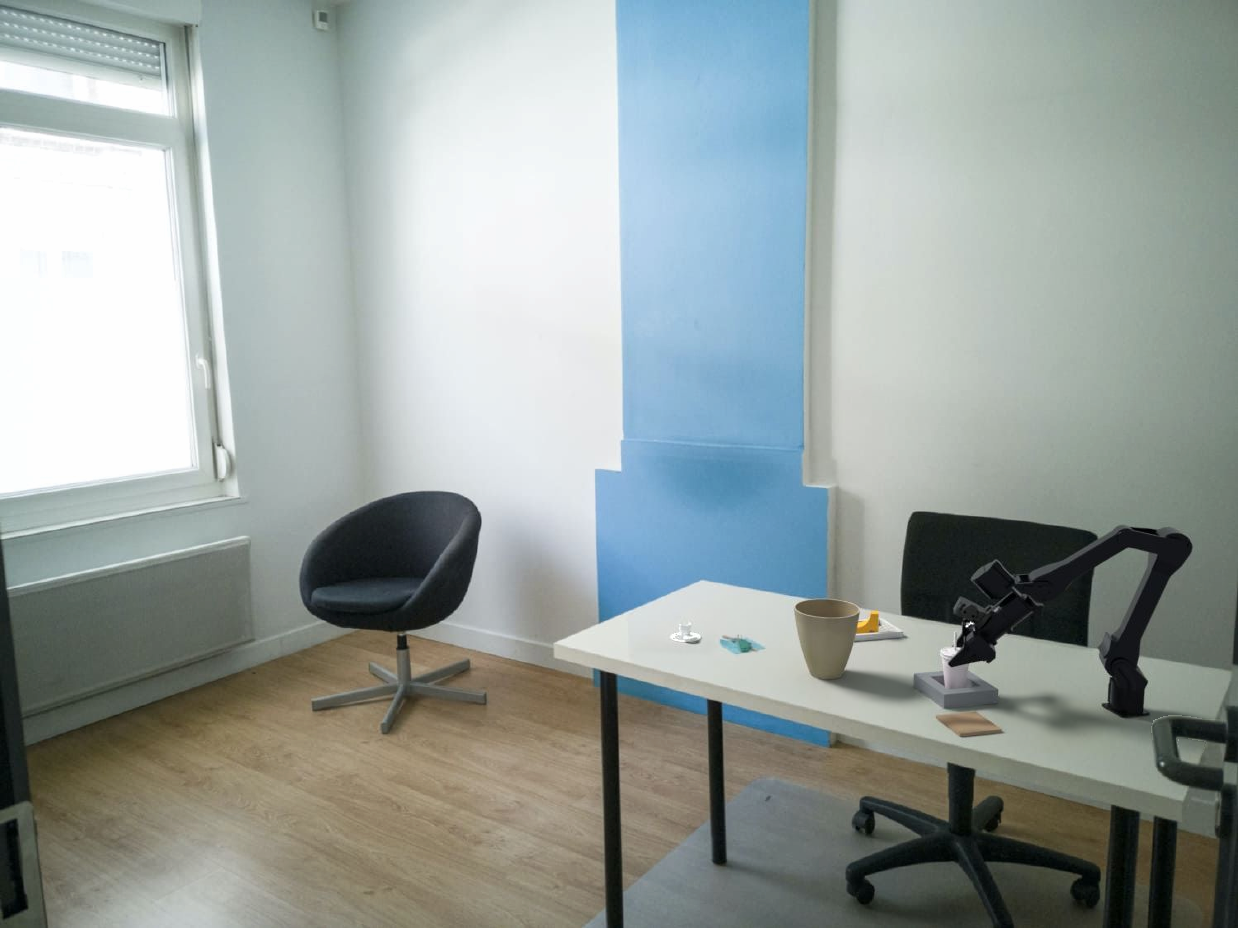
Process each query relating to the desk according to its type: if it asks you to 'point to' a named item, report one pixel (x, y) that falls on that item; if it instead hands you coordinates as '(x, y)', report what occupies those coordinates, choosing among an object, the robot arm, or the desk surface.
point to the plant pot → (826, 634)
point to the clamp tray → (892, 632)
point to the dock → (955, 690)
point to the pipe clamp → (869, 624)
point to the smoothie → (953, 668)
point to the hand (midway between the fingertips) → (948, 660)
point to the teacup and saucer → (686, 633)
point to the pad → (968, 723)
